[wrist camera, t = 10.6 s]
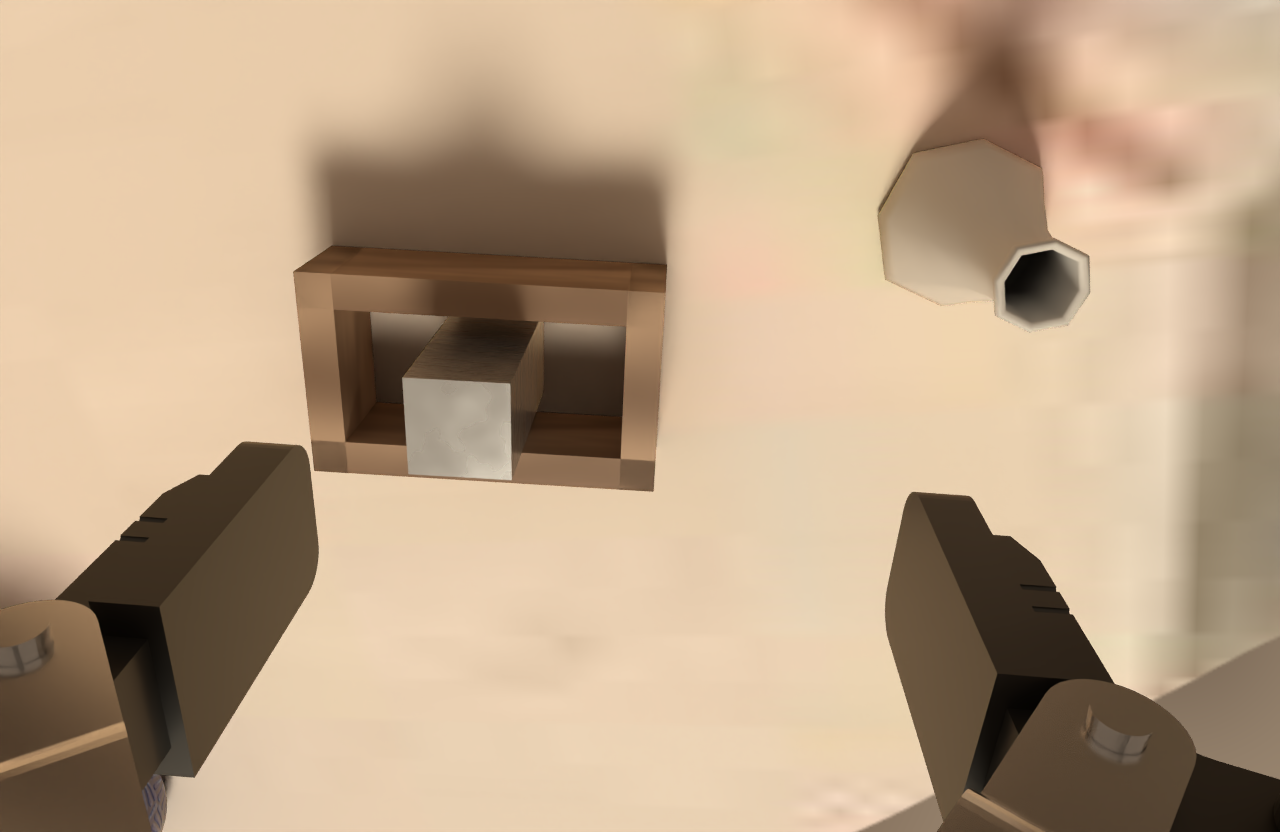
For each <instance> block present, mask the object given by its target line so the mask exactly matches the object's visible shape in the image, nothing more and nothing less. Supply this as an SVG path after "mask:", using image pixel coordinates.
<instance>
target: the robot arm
mask: <svg viewBox="0 0 1280 832" xmlns="http://www.w3.org/2000/svg"><path fill="white" fill-rule="evenodd" d="M318 554H319V546H318V536H317V527H316V517H315V508H314V499H313V490H312V481H311V472H310V464H309V458H308V455H307V452H306V451H305V449H304V448H303V447H302V446H300V445H287V444H274V443H260V442H242V443H240V444H239V445H238V446H237V447H236V448H235V449H234V450H233V451H232V452H231V453H230V454H229V455H228V456H227V457H226V458H225V459H224V460H223V462H222V463H221V464H220V465H219V466H218V467H217V468H216V469H215V470H214V471H213V472H212V473H211V474H210V475H197V476H195V477H194V478H192V479H190V480H188V481H186V482H184V483H182V484H180V485H178V486H176V487H174V488H173V489H171V490H169V491H167V492H165V493H163V494H162V495H161V496H160V497H159V498H158V499H157V500H156V501H155V502H154V503H153V504H152V505H151V506H150V507H149V508H148V509H147V510H146V511H145V512H144V513H143V514H142V515H141V516H140V520H139V521H135V522H134V523H133V524H132V525H131V526H130V527H129V528H128V529H127V530H125V531H124V532H123V533H122V534H121V538H120V541H118V540H115V541H114V542H113V543H112V544H111V545H110V546H109V547H108V548H107V549H106V550H105V551H104V552H103V553H102V554H101V555H100V556H99V557H98V558H97V559H96V560H95V561H94V562H93V563H92V564H91V565H90V566H89V567H88V568H87V569H86V570H85V571H84V572H83V573H82V574H81V575H80V576H79V577H78V578H77V579H76V580H75V581H74V582H73V583H72V584H71V585H70V586H69V587H68V588H67V589H66V590H65V591H63V592H62V593H61V594H60V595H59V596H58V597H57V598H56V599H55V600H41V601H34V602H27V603H22V604H18V605H14V606H10V607H7V608H4V609H1V610H0V832H152V830H151V826H150V822H149V818H148V814H147V810H146V806H145V802H144V798H143V794H142V791H143V789H144V788H145V786H146V785H147V783H148V782H149V780H150V779H151V777H152V776H153V774H156V775H169V776H181V777H194V778H195V776H196V774H197V773H198V771H199V770H200V768H201V766H202V765H203V763H204V761H205V760H206V758H207V757H208V755H209V753H210V752H211V750H212V749H213V747H214V745H215V744H216V742H217V740H218V739H219V737H220V736H221V734H222V732H223V731H224V729H225V727H226V726H227V724H228V723H229V721H230V719H231V718H232V716H233V714H234V713H235V711H236V710H237V708H238V706H239V705H240V703H241V701H242V700H243V698H244V697H245V695H246V693H247V692H248V690H249V689H250V687H251V685H252V684H253V682H254V680H255V679H256V677H257V676H258V674H259V672H260V671H261V669H262V667H263V666H264V664H265V663H266V661H267V659H268V658H269V656H270V654H271V653H272V651H273V650H274V648H275V646H276V645H277V643H278V641H279V640H280V638H281V637H282V635H283V633H284V632H285V630H286V629H287V627H288V625H289V624H290V622H291V620H292V619H293V617H294V616H295V614H296V612H297V611H298V609H299V607H300V606H301V604H302V603H303V601H304V599H305V598H306V596H307V594H308V593H309V591H310V589H311V587H312V584H313V581H314V578H315V575H316V570H317V564H318ZM885 621H886V631H887V636H888V640H889V643H890V646H891V650H892V653H893V656H894V660H895V663H896V666H897V669H898V673H899V676H900V679H901V683H902V686H903V689H904V693H905V696H906V699H907V703H908V706H909V709H910V713H911V716H912V719H913V722H914V726H915V729H916V732H917V736H918V739H919V742H920V746H921V749H922V752H923V756H924V759H925V762H926V766H927V769H928V772H929V775H930V779H931V782H932V785H933V789H934V792H935V795H936V799H937V802H938V805H939V809H940V812H941V815H942V818H943V823H942V825H941V827H940V828H939V829H938V831H937V832H1280V780H1279V779H1276V778H1273V777H1269V776H1266V775H1263V774H1259V773H1256V772H1252V771H1249V770H1246V769H1243V768H1239V767H1236V766H1233V765H1229V764H1226V763H1223V762H1219V761H1216V760H1213V759H1210V758H1207V757H1204V756H1202V755H1199V754H1197V753H1196V749H1195V746H1194V743H1193V741H1192V739H1191V737H1190V735H1189V734H1188V732H1187V731H1186V729H1185V728H1184V727H1183V726H1182V725H1181V723H1180V722H1179V721H1178V720H1177V719H1176V718H1175V717H1174V716H1172V715H1171V714H1170V713H1169V712H1168V711H1167V710H1165V709H1164V708H1163V707H1161V706H1160V705H1158V704H1157V703H1155V702H1154V701H1152V700H1150V699H1149V698H1147V697H1145V696H1143V695H1141V694H1139V693H1137V692H1135V691H1133V690H1130V689H1128V688H1125V687H1123V686H1119V685H1116V684H1114V682H1113V680H1112V679H1111V677H1110V675H1109V674H1108V672H1107V670H1106V669H1105V667H1104V665H1103V664H1102V662H1101V660H1100V659H1099V657H1098V655H1097V654H1096V652H1095V650H1094V649H1093V647H1092V645H1091V644H1090V642H1089V640H1088V639H1087V637H1086V636H1085V634H1084V632H1083V631H1082V629H1081V627H1080V626H1079V624H1078V622H1077V621H1076V619H1075V617H1074V616H1073V615H1071V614H1069V607H1068V606H1067V604H1066V602H1065V601H1064V599H1063V597H1062V596H1061V594H1060V592H1056V586H1055V584H1054V582H1053V581H1052V579H1051V577H1050V576H1049V574H1048V572H1047V571H1046V569H1045V567H1044V566H1043V564H1042V563H1041V561H1040V560H1039V559H1038V558H1037V557H1035V556H1034V555H1033V554H1032V553H1030V552H1029V551H1028V550H1027V549H1025V548H1024V547H1023V546H1022V545H1020V544H1019V543H1018V542H1017V541H1015V540H1014V539H1013V538H1012V537H1011V536H1000V535H992V533H991V531H990V529H989V527H988V525H987V524H986V522H985V520H984V518H983V516H982V514H981V513H980V511H979V509H978V507H977V505H976V503H975V502H974V500H973V499H972V498H971V497H970V496H963V495H949V494H935V493H922V492H912V493H911V494H910V495H909V496H908V498H907V500H906V503H905V507H904V511H903V515H902V520H901V525H900V530H899V534H898V539H897V544H896V549H895V553H894V558H893V563H892V568H891V572H890V577H889V582H888V587H887V592H886V602H885Z"/></svg>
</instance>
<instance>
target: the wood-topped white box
mask: <svg viewBox="0 0 1280 832" xmlns="http://www.w3.org/2000/svg"><path fill="white" fill-rule="evenodd" d="M402 383H403V398H404V414H405V429H406V445H407V460H408V474H414V475H431V476H448V477H465V478H483V479H500V480H512V478H513V475H514V472H515V470H516V467H517V464H518V461H519V459H520V456H521V453H522V450H523V448H524V445H525V442H526V439H527V437H528V434H529V431H530V428H531V425H532V423H533V420H534V417H535V414H536V412H537V409H538V406H539V403H540V401H541V398H542V395H543V392H544V322H538V321H521V320H504V319H487V318H469V317H452V316H449V317H448V318H447V319H446V321H445V322H444V323H443V325H442V326H441V327H440V329H439V330H438V331H437V332H436V334H435V335H434V336H433V338H432V339H431V340H430V342H429V343H428V344H427V346H426V347H425V348H424V350H423V351H422V352H421V353H420V355H419V356H418V357H417V359H416V360H415V361H414V363H413V364H412V365H411V367H410V368H409V369H408V371H407V372H406V373H405V374H404V376H403V377H402Z"/></svg>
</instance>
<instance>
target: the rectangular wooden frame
mask: <svg viewBox="0 0 1280 832" xmlns="http://www.w3.org/2000/svg"><path fill="white" fill-rule="evenodd" d="M293 274H294V283H295V293H296V302H297V312H298V321H299V331H300V340H301V350H302V359H303V369H304V378H305V388H306V397H307V406H308V416H309V425H310V435H311V444H312V454H313V463H314V471H325V472H341V473H357V474H374V475H390V476H407V477H423V478H439V479H456V480H472V481H488V482H505V483H521V484H538V485H554V486H570V487H587V488H603V489H619V490H636V491H652V492H653V491H654V474H655V458H656V441H657V425H658V408H659V392H660V375H661V359H662V342H663V326H664V309H665V292H666V274H667V265H662V264H644V263H627V262H609V261H591V260H574V259H556V258H538V257H521V256H503V255H486V254H468V253H450V252H433V251H415V250H397V249H380V248H362V247H345V246H331V247H329V248H328V249H326V250H325V251H323V252H322V253H320V254H319V255H317V256H316V257H314V258H313V259H311V260H310V261H308V262H307V263H305V264H304V265H302V266H301V267H299V268H298V269H296V270H295V271H294V272H293ZM370 312H383V313H400V314H418V315H435V316H452V317H469V318H487V319H504V320H521V321H538V322H556V323H573V324H590V325H607V326H625V327H626V348H625V371H624V394H623V417H616V416H599V415H582V414H566V413H549V412H536V414H535V417H534V420H533V423H532V425H531V428H530V431H529V434H528V437H527V439H526V442H525V445H524V448H523V450H522V453H521V456H520V459H519V461H518V464H517V467H516V470H515V472H514V475H513V478H512V480H500V479H483V478H465V477H448V476H431V475H414V474H408V460H407V445H406V429H405V414H404V404H398V403H381V402H376V389H375V375H374V362H373V348H372V334H371V321H370Z"/></svg>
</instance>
